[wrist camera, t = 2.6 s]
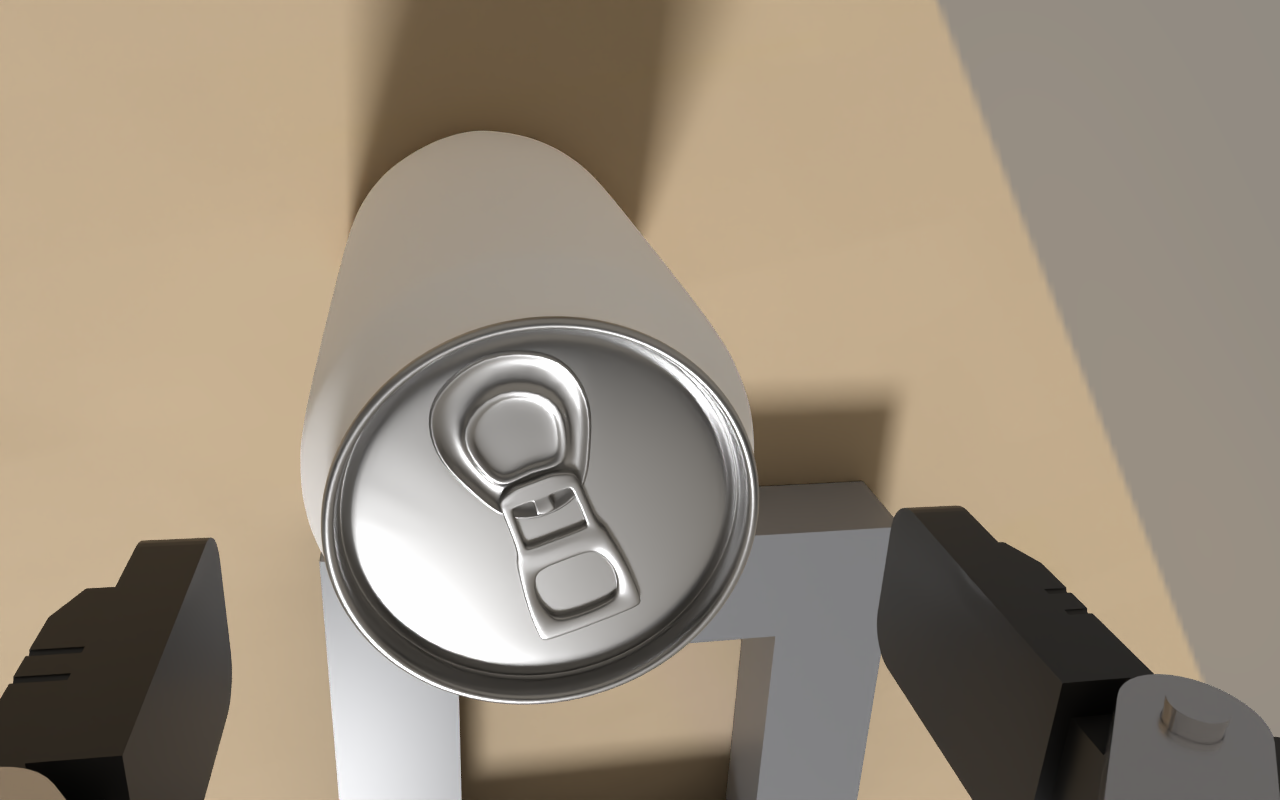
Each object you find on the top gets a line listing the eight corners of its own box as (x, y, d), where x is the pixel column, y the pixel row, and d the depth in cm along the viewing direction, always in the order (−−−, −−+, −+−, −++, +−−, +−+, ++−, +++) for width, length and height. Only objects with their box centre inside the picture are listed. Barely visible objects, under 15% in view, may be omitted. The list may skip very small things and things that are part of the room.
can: (577, 85, 23) (719, 204, 12) (660, 344, 26) (838, 629, 15) (295, 185, 23) (183, 398, 12) (411, 435, 25) (407, 796, 15)
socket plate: (359, 924, 31) (355, 1000, 29) (328, 508, 26) (319, 562, 23) (807, 867, 34) (835, 932, 32) (862, 481, 28) (901, 526, 26)
